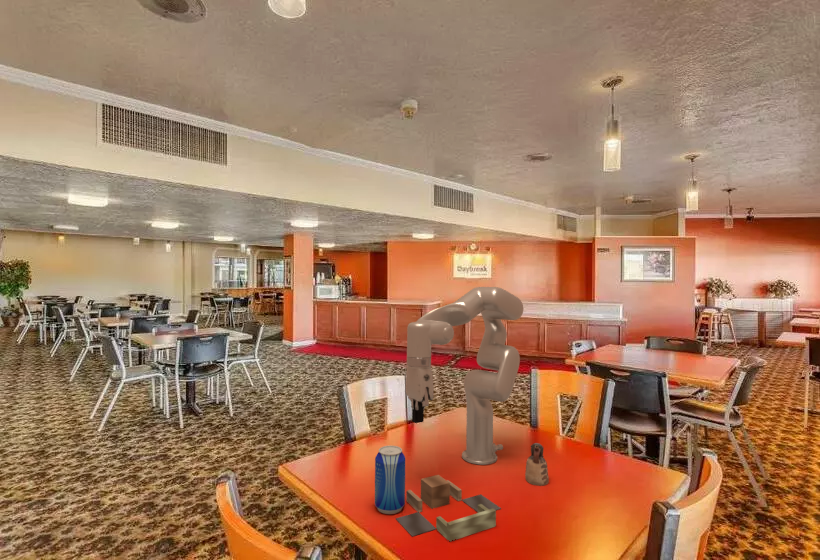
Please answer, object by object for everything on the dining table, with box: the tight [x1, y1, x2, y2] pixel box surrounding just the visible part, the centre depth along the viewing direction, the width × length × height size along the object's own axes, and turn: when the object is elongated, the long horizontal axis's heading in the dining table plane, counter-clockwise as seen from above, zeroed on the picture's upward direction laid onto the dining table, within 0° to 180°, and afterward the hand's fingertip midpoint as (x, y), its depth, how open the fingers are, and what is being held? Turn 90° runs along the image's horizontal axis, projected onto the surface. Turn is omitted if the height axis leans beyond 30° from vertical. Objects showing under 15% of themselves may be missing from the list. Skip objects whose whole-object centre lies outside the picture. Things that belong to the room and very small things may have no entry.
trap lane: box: [395, 479, 502, 542], centre depth 115 cm, size 28×22×4 cm
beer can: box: [374, 445, 406, 515], centre depth 118 cm, size 8×8×16 cm
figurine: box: [524, 442, 550, 487], centre depth 135 cm, size 7×7×12 cm
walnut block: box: [420, 474, 451, 510], centre depth 121 cm, size 6×6×6 cm
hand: (417, 421), depth 130 cm, fingers closed
